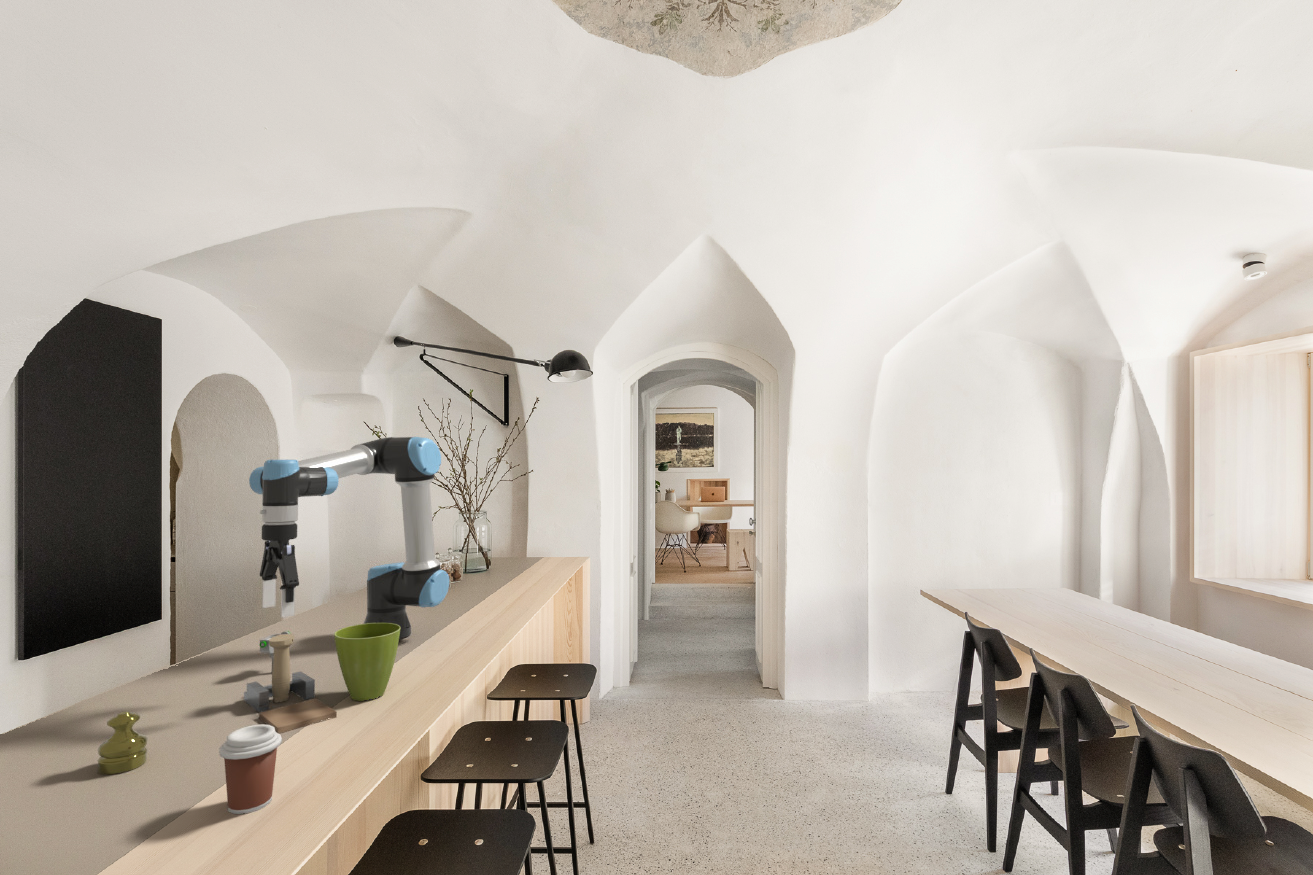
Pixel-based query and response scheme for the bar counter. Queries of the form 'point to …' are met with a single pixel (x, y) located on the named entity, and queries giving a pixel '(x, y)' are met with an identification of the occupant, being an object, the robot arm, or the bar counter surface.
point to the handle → (281, 666)
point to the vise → (260, 694)
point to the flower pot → (367, 657)
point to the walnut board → (297, 715)
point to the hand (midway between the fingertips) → (277, 611)
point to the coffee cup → (250, 767)
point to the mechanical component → (266, 647)
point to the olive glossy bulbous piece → (122, 746)
